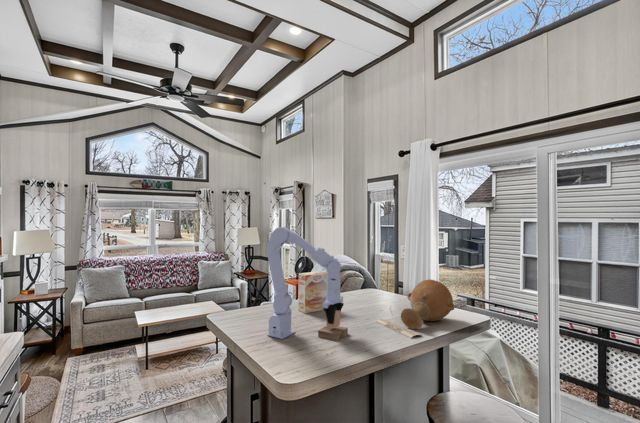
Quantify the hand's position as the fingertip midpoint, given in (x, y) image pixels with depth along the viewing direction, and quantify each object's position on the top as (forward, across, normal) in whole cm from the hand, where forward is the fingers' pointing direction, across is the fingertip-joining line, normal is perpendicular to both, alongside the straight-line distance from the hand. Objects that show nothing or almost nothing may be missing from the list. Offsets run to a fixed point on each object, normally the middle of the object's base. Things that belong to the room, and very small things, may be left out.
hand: (333, 322), depth 134 cm
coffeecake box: (+6, +29, +27) cm, 40 cm away
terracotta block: (+1, 0, 0) cm, 1 cm away
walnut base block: (+6, 0, 0) cm, 6 cm away
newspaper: (+6, +22, -20) cm, 30 cm away
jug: (+6, +38, -28) cm, 48 cm away
